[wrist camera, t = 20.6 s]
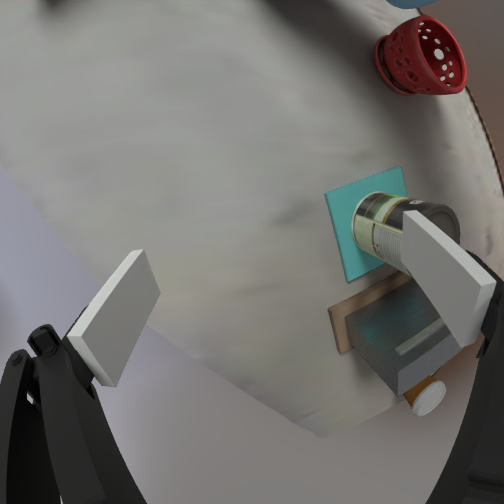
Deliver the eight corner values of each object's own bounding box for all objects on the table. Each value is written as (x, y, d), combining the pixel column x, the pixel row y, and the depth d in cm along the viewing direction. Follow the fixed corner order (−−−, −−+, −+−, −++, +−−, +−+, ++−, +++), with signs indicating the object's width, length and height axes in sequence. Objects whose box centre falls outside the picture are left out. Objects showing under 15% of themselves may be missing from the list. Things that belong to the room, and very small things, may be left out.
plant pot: (391, 110, 39) (442, 103, 28) (354, 42, 35) (398, 17, 24) (432, 90, 40) (478, 83, 28) (400, 30, 35) (443, 12, 24)
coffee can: (362, 181, 41) (426, 192, 28) (406, 203, 44) (468, 220, 31) (340, 244, 43) (397, 276, 30) (387, 259, 46) (443, 290, 33)
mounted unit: (428, 253, 49) (495, 285, 33) (430, 294, 52) (488, 331, 36) (327, 308, 47) (385, 369, 31) (337, 350, 50) (386, 411, 34)
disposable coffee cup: (404, 354, 56) (435, 384, 45) (424, 359, 59) (453, 385, 48) (382, 387, 58) (408, 418, 47) (403, 389, 61) (429, 416, 49)
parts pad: (397, 166, 42) (400, 166, 42) (411, 246, 47) (414, 247, 47) (324, 193, 41) (326, 194, 40) (346, 280, 46) (348, 281, 45)
